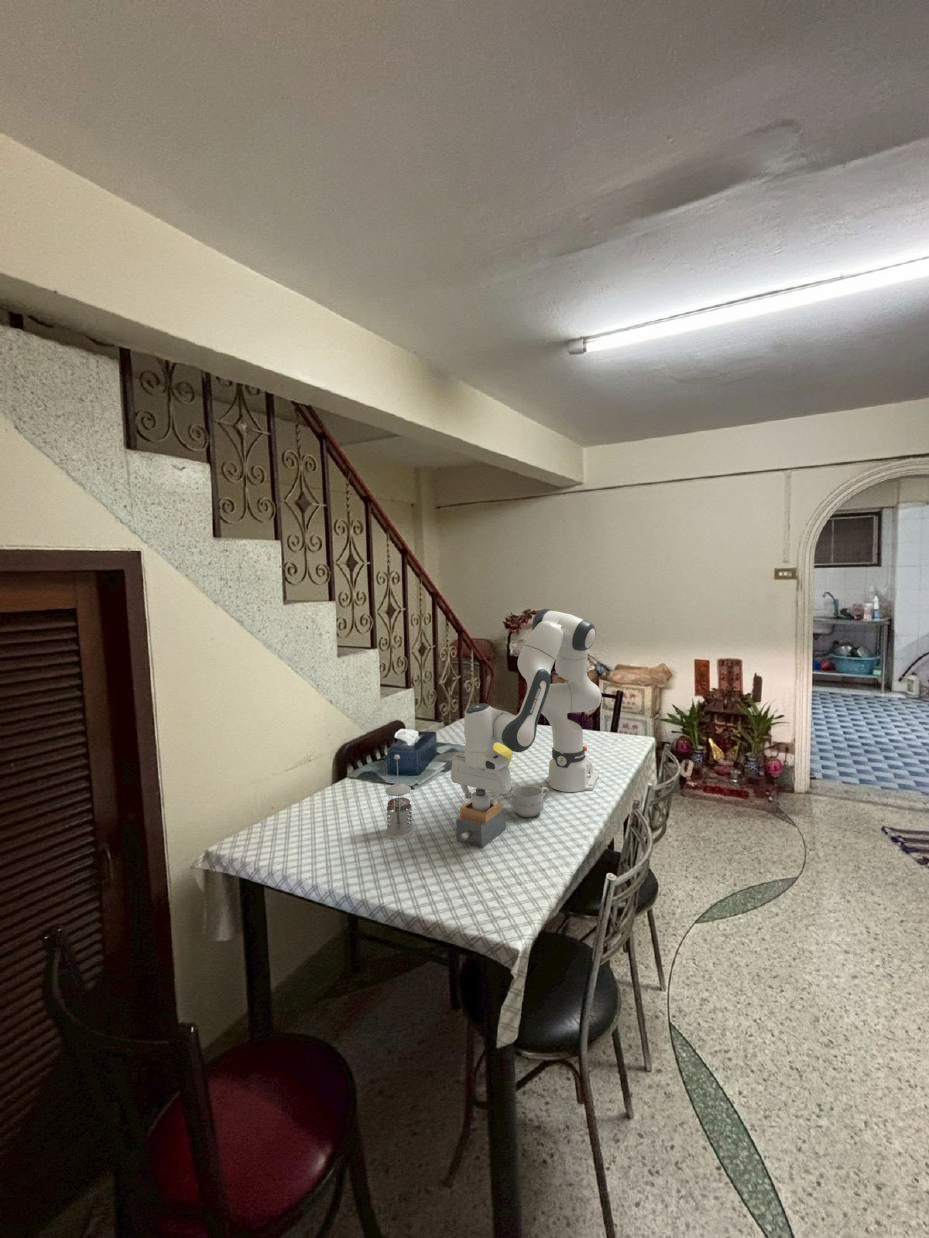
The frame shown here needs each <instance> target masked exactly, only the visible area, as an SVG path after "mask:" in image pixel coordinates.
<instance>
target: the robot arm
mask: <svg viewBox="0 0 929 1238" xmlns="http://www.w3.org/2000/svg"><path fill="white" fill-rule="evenodd" d="M531 629H532V631H531V633H530V634H529V636H528V638H527V639H526V640H525V643H524V644H523V646H522V649H521V650H520V653H519V655H518V658H517V662H516V663H517V668H518V671H519V673H520V674H521V676H522V677H523V679H525V681H526V684H527V685H526V686H527V689H526V692H525V696H524V699H523V701H522V704H521V707H520V710H519V712H518V713H517V714H516V715H515V714H513V713H511V712H508V711H506V710H501V709H497V708H496V707H495V708H494V707H492V706H491V705H489V704H488V703H475V704H473V705H471V706H469V707H468V708H467V709H466V710H465V713H464V719H463V721H464V722H463V733H464V734H463V735H464V739H465V744H464V753H459V752H458V753H457V752H456V753H454V754H453V755H452V756H451V769H450V780H451V781H452V783H454V784H457V785H461V786H460V788H461V790H462V791H463V793H464V799H467V800H470V799H472V791H470V790H469V787H471V788H475V789H477V788H479V789H483V790H486V791H487V792H492V795H493V797H492V798H490V802H491V803H490V804H491V805H497V802H498V799H499V797H500V795H505V794H507V793H509V791H511V789H512V777H511V770H510V769H509V767H508V766H509V765H508V762H509V761H508V758H507V757H505V756H503V755H501V754H499V753H498V752H496V751H495V750H494V748H493V745H494V743H497V742H499V743H501V744H503V745H505V746H506V747H507V748H509V749H510V750H512V751H513V752H514V753H523V752H525V751H527V750H529V749H530V748H531V747H532V745H533V744H534V742H535V739H536V737H537V729H538V724H539V720H540V717H541V714H542V715H543V716H544V718H546V720H547V721H548V723H549V725H550V727H551V733H552V748H551V757H552V758H551V759H550V760H549V762H548V776H547V777H545V782H547V783H548V785H549V786H550V787H551V788H552V789H554V790H557V791H560V792H567V793H577V792H582V791H593V790H594V787H595V785H596V784H597V781H598V780H599V775H600V774H598V773H597V772H594V771H593V770H594V769H593V763H592V761H590V760H589V759H588V758H587V757H586V752H587V750H588V746H587V745H584V740H583V739H584V736H583V735H584V733H583V728H582V726H581V725H580V724H579V723H577V722H576V721H573V720H571V719H568V714H569V713H585V712H588V711H593V710H596V709H598V708H599V707H600V705H601V703H602V696H603V695H602V691H601V689H600V687H599V686H598V685H597V684H596V683H594V682H592V681H591V679H590V678H589V677H588V672H587V667H588V665H587V664H588V654H589V649H590V648H591V647H592V646H593V644H594V642H595V639H596V634H597V631H596V627H595V626H594V623H592V622H590V621H589V620H587V619H583V618H581V617H578V616H576V615H574V614H570V613H565V612H562V611H557V610H553V609H549V608H542V609H541V610H539V611H537V612H536V613H535V614H534V616H533V619H532V621H531ZM554 664H555V666H554ZM553 666H554V669H555V672H556V674H557V675H558V676H559V677H560V678H562V679H563V680H564V681H565V680H566V681H568V682H566V683H565V682H562V683H551V681H552V679H551V674H552V673H551V671H552V670H553ZM506 765H508V766H506Z"/></svg>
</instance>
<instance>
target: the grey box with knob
mask: <svg viewBox="0 0 929 1238" xmlns="http://www.w3.org/2000/svg"><path fill="white" fill-rule="evenodd" d="M490 803H491V802H490ZM459 811H460V813H459V814H460V815H459V816H458V817H456V818H455V819H456V820H455V823H456V825H455V827H456V841H457V842H459V843H462V844H466V845H469V846H472V847H475V848H478V849H483V848H485V847H486V846H487V845H489V844H490V843H491V842H492V841H493V840H494V839H496V838H497V837H498V836H500V835H501V834H502V833H503V832H505V830H506V829H507V827H506V826H507V824H506V821H507V820H506V807H502V802H499V801H497V805H491V804H490V809H489V810H487V811H486V812H481V811H477V810H474V809H472V799H471V800H470V801H468V802H467V803H465V804H464V805H463V804H462V806H460V807H459Z"/></svg>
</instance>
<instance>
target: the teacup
mask: <svg viewBox="0 0 929 1238" xmlns="http://www.w3.org/2000/svg"><path fill="white" fill-rule="evenodd" d="M511 789H512V790H510V793H511V804H512V809H513V810H514V811H513V812H515V813H516V814H518V815H519V816H520V817H523V818H532V817H533V818H534V817H536V816H538V815H539V814H540V813H541V812H542V811H543V809H544V802H545V801H546V800H547V799H548V798H549V797H550V789H549V788H548V787H546V786H542V787H540V786H535V785H521V786H517V787H514V788H511ZM544 791H545V794H544Z"/></svg>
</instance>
